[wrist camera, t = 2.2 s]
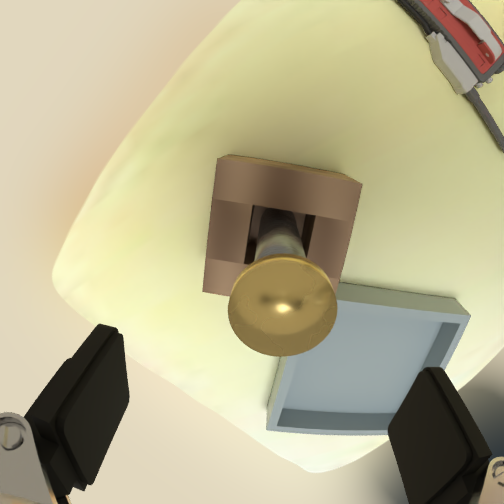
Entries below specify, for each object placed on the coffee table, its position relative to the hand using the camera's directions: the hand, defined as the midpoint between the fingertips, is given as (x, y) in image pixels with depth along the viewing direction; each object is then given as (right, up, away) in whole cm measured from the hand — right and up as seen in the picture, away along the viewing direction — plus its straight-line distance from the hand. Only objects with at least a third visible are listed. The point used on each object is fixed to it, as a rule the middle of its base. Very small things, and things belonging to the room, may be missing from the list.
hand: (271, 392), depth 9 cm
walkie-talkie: (+20, +24, +13) cm, 34 cm away
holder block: (+2, +7, +19) cm, 21 cm away
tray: (+11, -8, +24) cm, 28 cm away
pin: (+2, +7, +18) cm, 20 cm away
